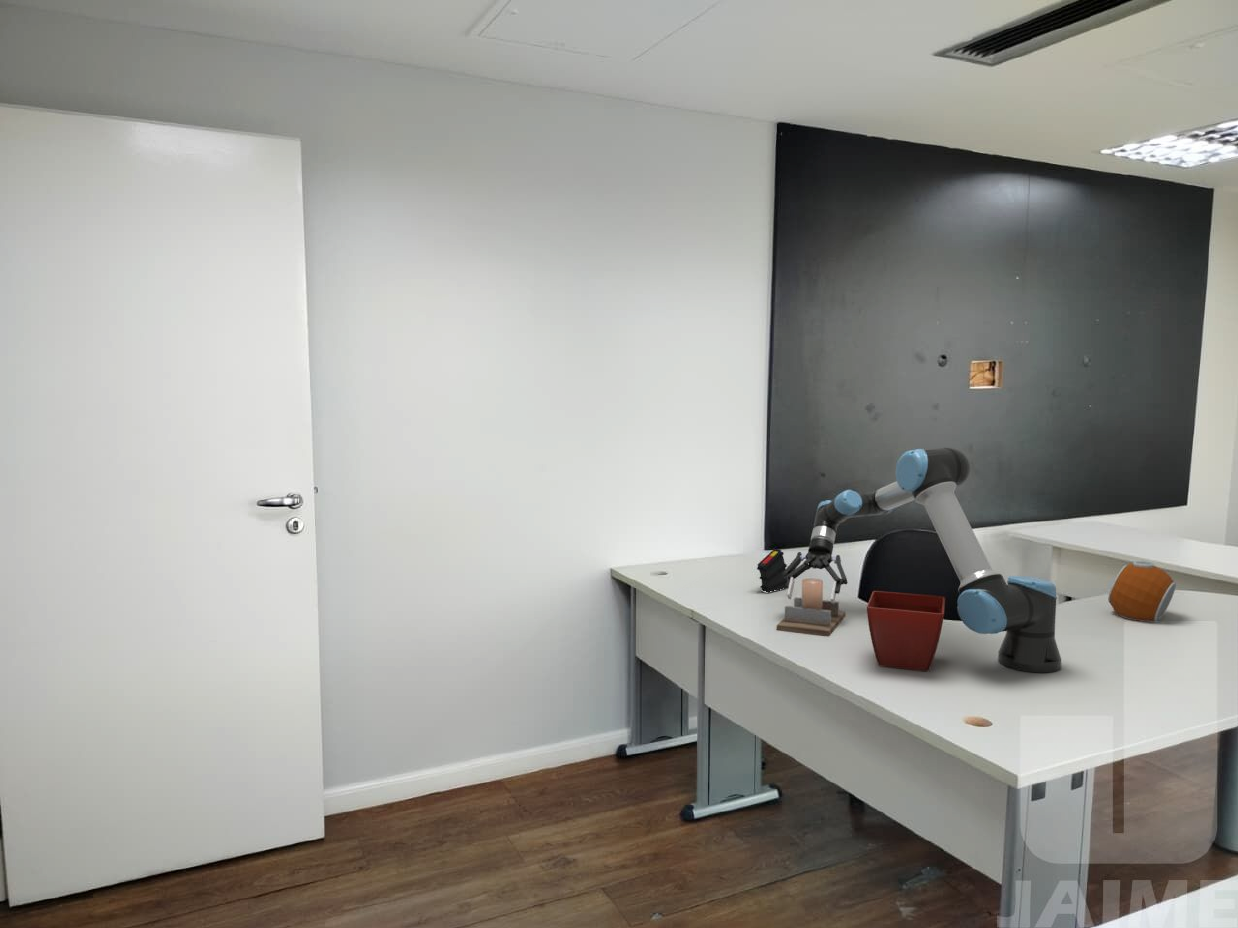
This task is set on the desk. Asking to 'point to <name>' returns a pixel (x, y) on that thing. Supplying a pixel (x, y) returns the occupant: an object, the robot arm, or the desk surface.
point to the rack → (811, 618)
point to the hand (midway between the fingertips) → (810, 599)
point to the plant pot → (905, 628)
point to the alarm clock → (1141, 592)
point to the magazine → (773, 571)
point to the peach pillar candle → (812, 593)
